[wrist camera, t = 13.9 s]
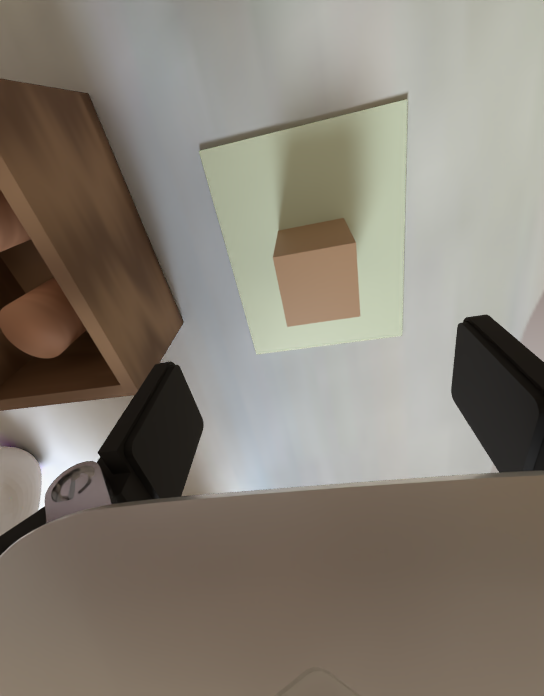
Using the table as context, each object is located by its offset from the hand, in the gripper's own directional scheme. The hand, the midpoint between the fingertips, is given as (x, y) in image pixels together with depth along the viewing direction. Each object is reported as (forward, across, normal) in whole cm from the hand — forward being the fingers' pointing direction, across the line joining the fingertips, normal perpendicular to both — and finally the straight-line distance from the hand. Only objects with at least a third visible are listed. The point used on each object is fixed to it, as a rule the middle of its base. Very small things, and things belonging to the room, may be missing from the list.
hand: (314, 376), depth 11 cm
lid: (+13, -1, -1) cm, 13 cm away
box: (+12, +15, -4) cm, 20 cm away
